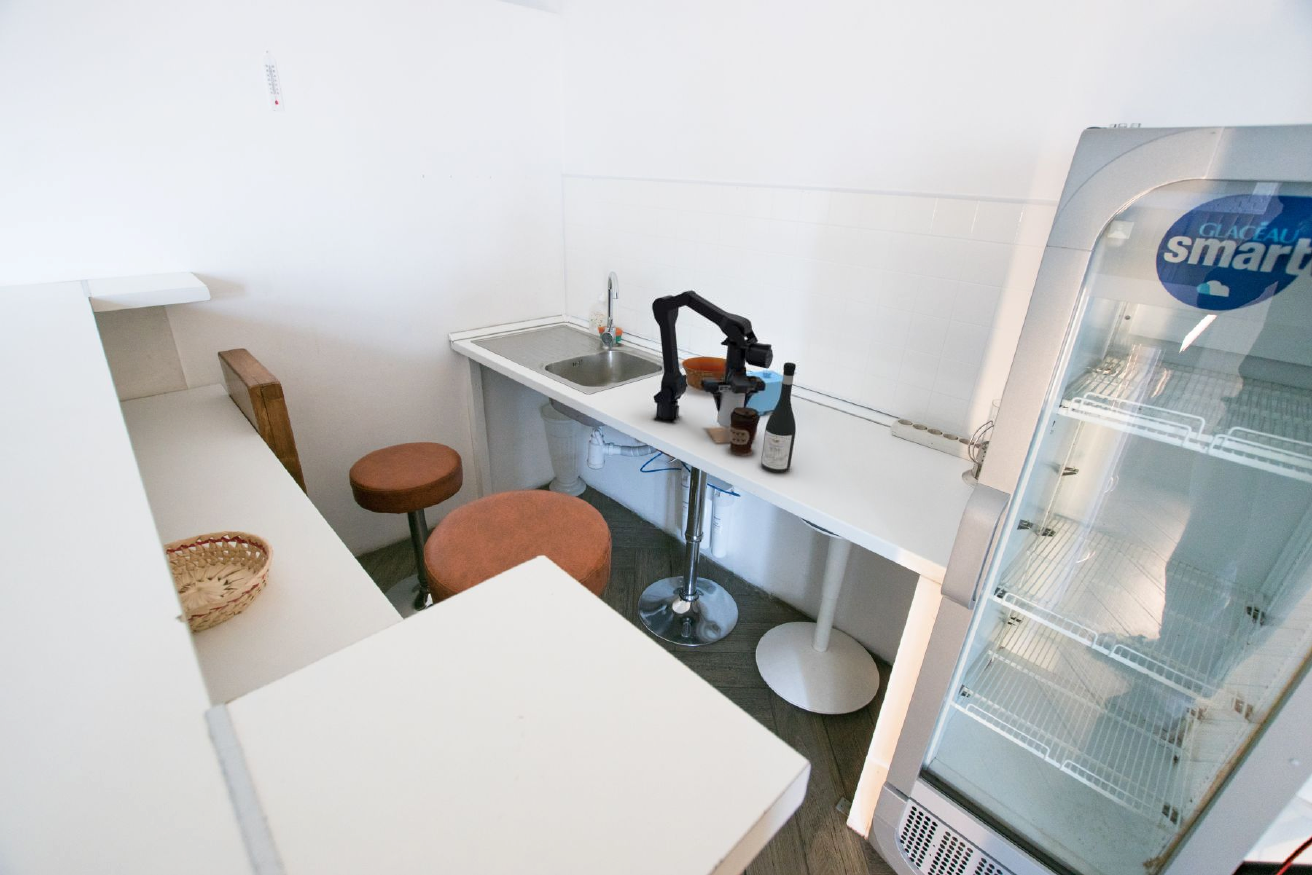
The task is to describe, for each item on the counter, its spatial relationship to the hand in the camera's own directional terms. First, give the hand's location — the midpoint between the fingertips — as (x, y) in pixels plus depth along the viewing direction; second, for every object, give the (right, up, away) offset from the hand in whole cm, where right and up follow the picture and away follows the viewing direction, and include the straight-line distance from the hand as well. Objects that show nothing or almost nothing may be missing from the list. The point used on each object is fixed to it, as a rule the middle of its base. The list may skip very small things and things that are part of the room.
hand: (730, 410), depth 176 cm
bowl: (-3, +10, +43) cm, 44 cm away
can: (0, -4, +2) cm, 5 cm away
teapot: (+16, +2, +26) cm, 31 cm away
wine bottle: (+10, -17, -15) cm, 25 cm away
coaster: (0, -7, +3) cm, 8 cm away
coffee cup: (+2, -13, -7) cm, 15 cm away
